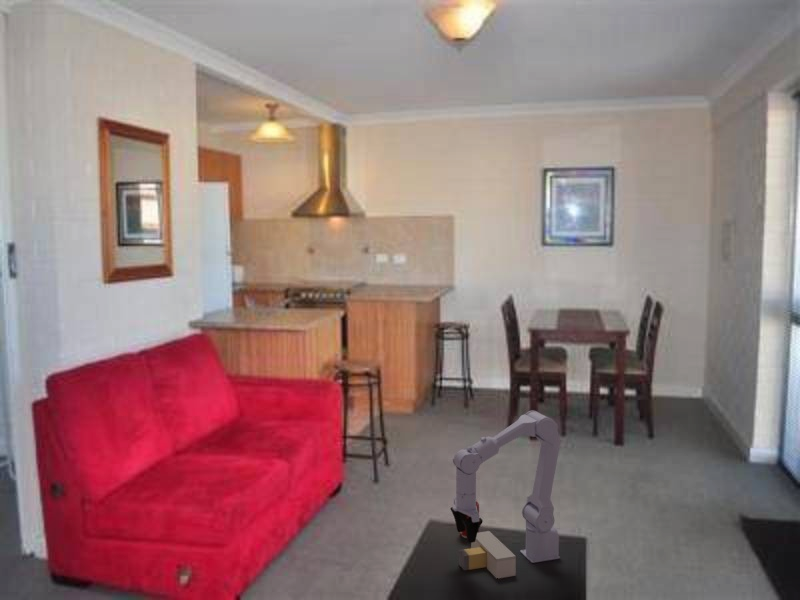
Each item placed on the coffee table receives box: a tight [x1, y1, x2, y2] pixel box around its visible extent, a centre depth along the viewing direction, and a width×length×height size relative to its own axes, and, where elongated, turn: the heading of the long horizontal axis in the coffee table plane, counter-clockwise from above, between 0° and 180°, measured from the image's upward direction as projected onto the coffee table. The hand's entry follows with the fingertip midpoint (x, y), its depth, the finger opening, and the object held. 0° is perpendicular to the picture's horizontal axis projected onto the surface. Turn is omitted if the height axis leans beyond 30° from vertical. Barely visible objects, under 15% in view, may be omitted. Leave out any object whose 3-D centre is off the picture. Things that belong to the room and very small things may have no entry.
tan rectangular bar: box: [458, 547, 487, 571], centre depth 208 cm, size 12×4×4 cm, turn 108°
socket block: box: [470, 530, 517, 579], centre depth 209 cm, size 6×18×6 cm, turn 18°
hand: (466, 536), depth 206 cm, fingers open, 7 cm apart
